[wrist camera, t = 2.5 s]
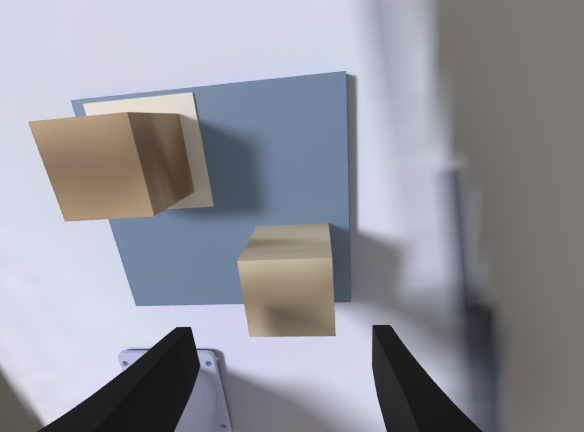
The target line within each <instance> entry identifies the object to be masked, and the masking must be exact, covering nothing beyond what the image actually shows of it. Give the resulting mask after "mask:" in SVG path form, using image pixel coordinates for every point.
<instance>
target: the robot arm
mask: <svg viewBox="0 0 584 432" xmlns="http://www.w3.org/2000/svg"><path fill="white" fill-rule="evenodd" d="M118 359H119V362H120V364H121V367H122V370H123V372H122V373H120V374H119V375H118V376H116V377H115V378H114V379H113V380H111V381H110V382H109V383H107V384H106V385H105V386H104V387H102V388H101V389H100V390H98V391H97V392H96V393H94V394H93V395H92V396H90V397H89V398H87V399H86V400H85V401H83V402H82V403H80V404H79V405H77V406H76V407H75V408H73V409H72V410H70V411H69V412H67V413H66V414H64V415H63V416H61V417H60V418H58V419H57V420H55V421H53V422H52V423H50V424H49V425H47V426H45V427H44V428H42V429H41V430H39V431H37V432H232V428H231V423H230V419H229V414H228V410H227V405H226V401H225V396H224V392H223V388H222V383H221V379H220V374H219V370H218V365H217V361H216V356H215V354H214V352H212V351H210V350H197V349H196V345H195V341H194V337H193V333H192V329H191V327H176V328H175V329H174V330H172V331H171V332H170V333H169V334H167V335H166V336H165V337H164V338H163V339H161V340H160V341H159V342H158V343H157V344H155V345H154V346H153V347H152V348H151V349H150V350H124V351H122V352H121V353H120V354H119V355H118ZM209 361H210V362H209ZM372 369H373V375H374V381H375V386H376V392H377V397H378V401H379V404H380V408H381V412H382V415H383V419H384V423H385V426H386V430H387V432H483V431H482V430H480V429H479V428H478V427H477V426H476V425H475V424H474V423H473V422H472V421H471V420H470V419H469V418H468V417H467V416H466V415H465V414H464V413H463V412H462V411H461V410H460V409H459V408H458V407H457V406H456V405H455V404H454V403H453V402H452V401H451V400H450V399H449V397H448V396H447V395H446V394H445V393H444V392H443V391H442V390H441V389H440V388H439V387H438V385H437V384H436V383H435V382H434V381H433V380H432V379H431V377H430V376H429V375H428V374H427V373H426V371H425V370H424V369H423V368H422V367H421V365H420V364H419V363H418V362H417V361H416V359H415V358H414V357H413V356H412V354H411V353H410V352H409V350H408V349H407V348H406V346H405V345H404V344H403V342H402V341H401V340H400V338H399V337H398V335H397V334H396V333H395V331H394V330H393V328H392V327H391V326H390V325H373V333H372Z"/></svg>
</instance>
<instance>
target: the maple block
mask: <svg viewBox="0 0 584 432" xmlns="http://www.w3.org/2000/svg"><path fill="white" fill-rule="evenodd" d="M237 263H238V269H239V275H240V281H241V287H242V293H243V299H244V305H245V311H246V317H247V323H248V329H249V335H250V337H284V336H336V335H335V311H334V288H333V264H332V251H331V242H330V233H329V224H328V223H318V224H298V225H278V226H258V227H256V228H255V230H254V232H253V234H252V235H251V237H250V239H249V241H248V243H247V244H246V246H245V248H244V250H243V252H242V253H241V255H240V257H239V259H238V261H237Z"/></svg>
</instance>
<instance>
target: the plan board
mask: <svg viewBox="0 0 584 432" xmlns="http://www.w3.org/2000/svg"><path fill="white" fill-rule="evenodd" d="M71 103H72V106H73V109H74V112H75V116H76V117H81V116H92V115H102V114H112V113H122V112H144V113H176V114H179V118H180V123H181V127H182V132H183V137H184V142H185V147H186V152H187V157H188V162H189V167H190V171H191V176H192V181H193V186H194V191H195V192H194V193H192V194H190V195H189V196H187V197H185V198H184V199H182V200H180V201H179V202H177V203H176V204H174V205H172V206H171V207H169V208H167V209H166V210H164V211H162V212H161V213H159V214H157V215H156V216H153V217H135V218H117V219H109V222H110V226H111V229H112V232H113V235H114V238H115V241H116V244H117V247H118V251H119V254H120V257H121V260H122V263H123V266H124V269H125V273H126V276H127V279H128V282H129V285H130V288H131V291H132V295H133V298H134V301H135V304H136V306H158V305H209V304H244V299H243V293H242V287H241V281H240V275H239V269H238V263H237V261H238V259H239V257H240V255H241V253H242V252H243V250H244V248H245V246H246V244H247V243H248V241H249V239H250V237H251V235H252V234H253V232H254V230H255V228H256V227H258V226H278V225H298V224H318V223H328V224H329V233H330V242H331V251H332V264H333V288H334V302H351V295H350V244H349V192H348V141H347V90H346V71H342V72H332V73H323V74H314V75H304V76H295V77H286V78H276V79H267V80H257V81H248V82H239V83H229V84H220V85H211V86H201V87H192V88H182V89H173V90H164V91H154V92H145V93H136V94H126V95H117V96H107V97H98V98H89V99H79V100H71Z"/></svg>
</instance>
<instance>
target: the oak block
mask: <svg viewBox="0 0 584 432" xmlns="http://www.w3.org/2000/svg"><path fill="white" fill-rule="evenodd" d="M28 123H29V126H30V128H31V131H32V134H33V136H34V139H35V142H36V144H37V147H38V150H39V153H40V155H41V158H42V161H43V163H44V166H45V169H46V171H47V174H48V177H49V179H50V182H51V185H52V187H53V190H54V193H55V195H56V198H57V201H58V203H59V206H60V209H61V211H62V214H63V217H64V220H65V221H81V220H99V219H117V218H135V217H153V216H156V215H157V214H159V213H161V212H162V211H164V210H166V209H167V208H169V207H171V206H172V205H174V204H176V203H177V202H179V201H180V200H182V199H184V198H185V197H187V196H189V195H190V194H192V193H194V192H195V191H194V186H193V181H192V176H191V171H190V167H189V162H188V157H187V152H186V147H185V142H184V137H183V132H182V127H181V123H180V118H179V114H176V113H144V112H122V113H112V114H102V115H92V116H81V117H71V118H61V119H51V120H41V121H31V122H28Z"/></svg>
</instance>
